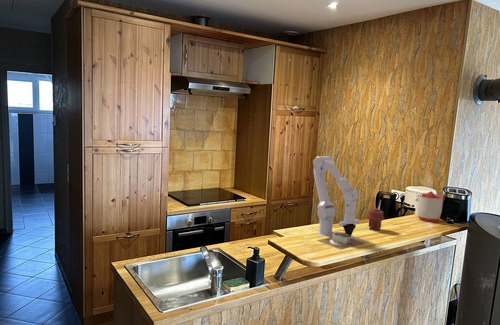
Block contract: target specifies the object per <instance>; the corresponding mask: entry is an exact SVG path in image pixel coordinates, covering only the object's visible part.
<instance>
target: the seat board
mask: <svg viewBox="0 0 500 325" xmlns="http://www.w3.org/2000/svg"><path fill="white" fill-rule="evenodd" d="M332 237H333V236H330V237H327V238H321V239H318V240H317V241H316V242H320V243H322V244H325V245H328V246H330V247H333V248H335V249H338V250H345V249H348V248H353V247H357V246H361V245H364V244H369V243H370V240H365V239H364V238H359V237H357V236H354V235H351V241H350V244H349V245H339V244H335V243H333V242H332Z"/></svg>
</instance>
